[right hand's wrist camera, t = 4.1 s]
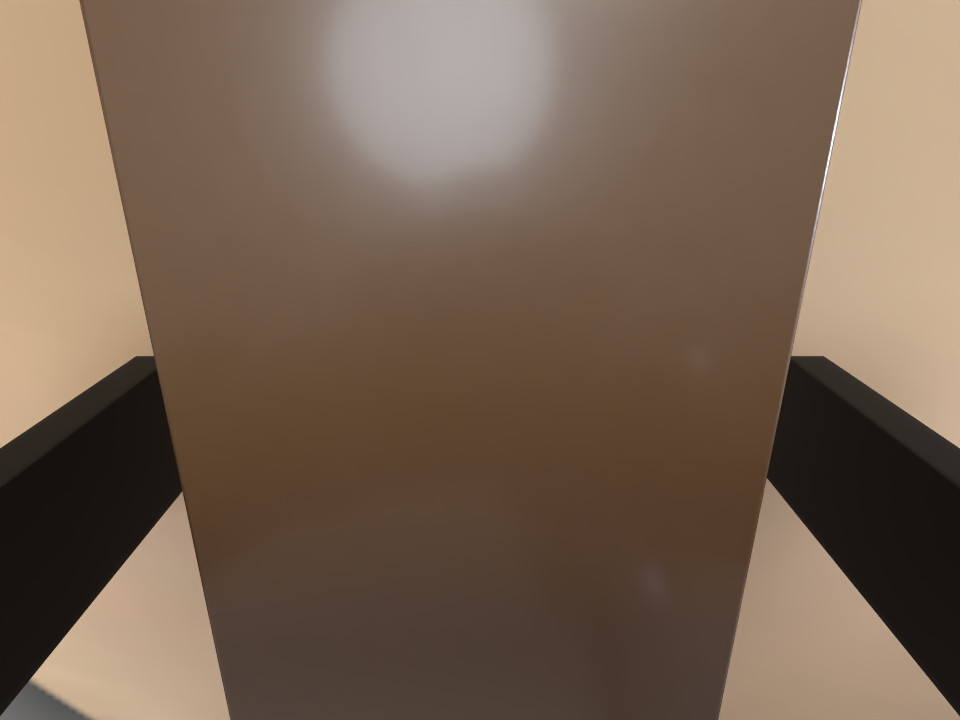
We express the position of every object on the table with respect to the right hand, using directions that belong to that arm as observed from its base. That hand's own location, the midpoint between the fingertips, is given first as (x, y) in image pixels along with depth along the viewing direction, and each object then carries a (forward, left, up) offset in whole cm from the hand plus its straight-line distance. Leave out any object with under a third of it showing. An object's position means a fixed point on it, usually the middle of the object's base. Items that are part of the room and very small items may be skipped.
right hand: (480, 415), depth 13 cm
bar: (+9, +9, -2) cm, 12 cm away
